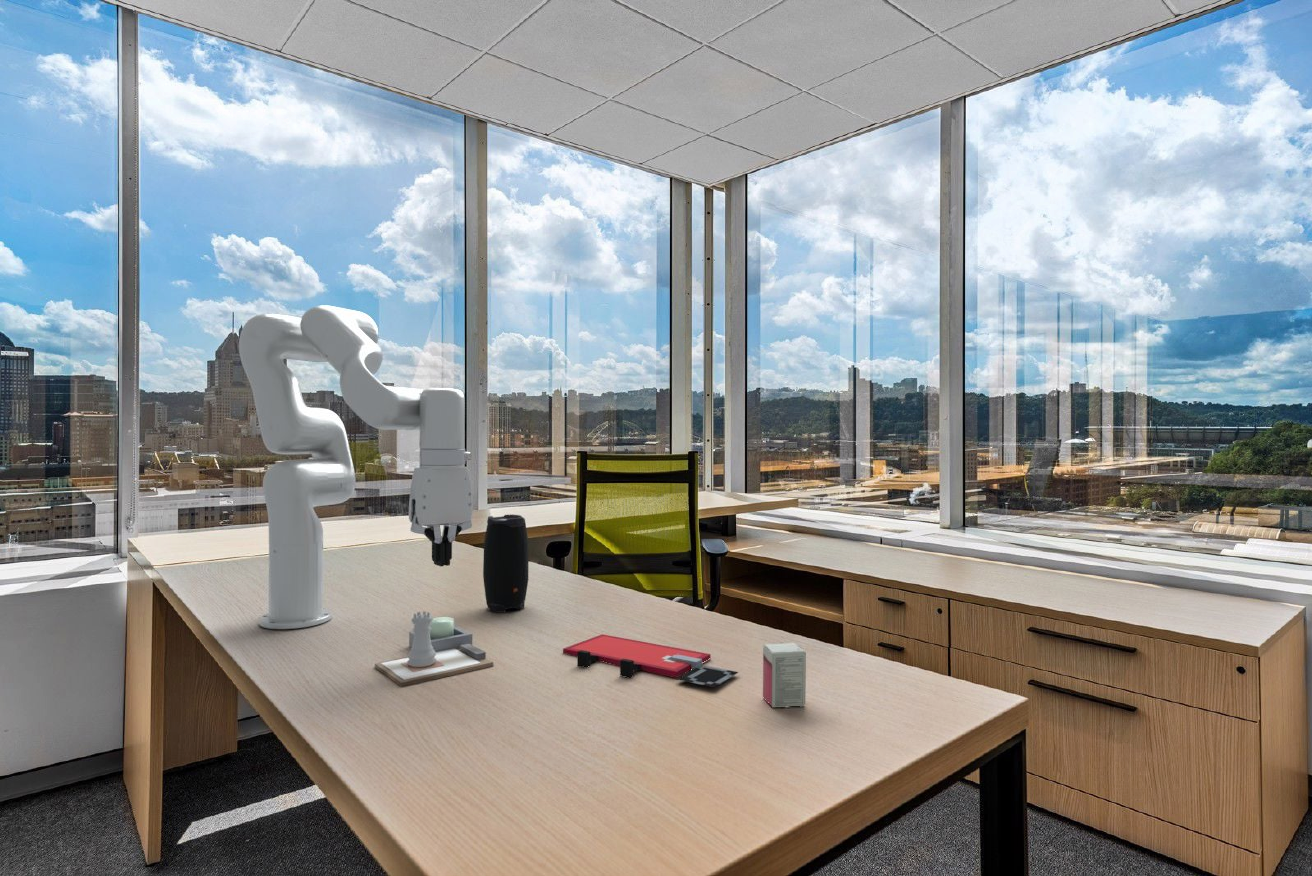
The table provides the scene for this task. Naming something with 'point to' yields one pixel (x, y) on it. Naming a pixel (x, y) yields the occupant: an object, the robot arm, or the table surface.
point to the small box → (784, 674)
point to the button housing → (448, 640)
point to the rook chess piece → (421, 642)
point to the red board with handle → (648, 659)
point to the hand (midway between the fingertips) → (441, 564)
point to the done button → (441, 627)
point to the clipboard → (436, 665)
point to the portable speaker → (505, 562)
